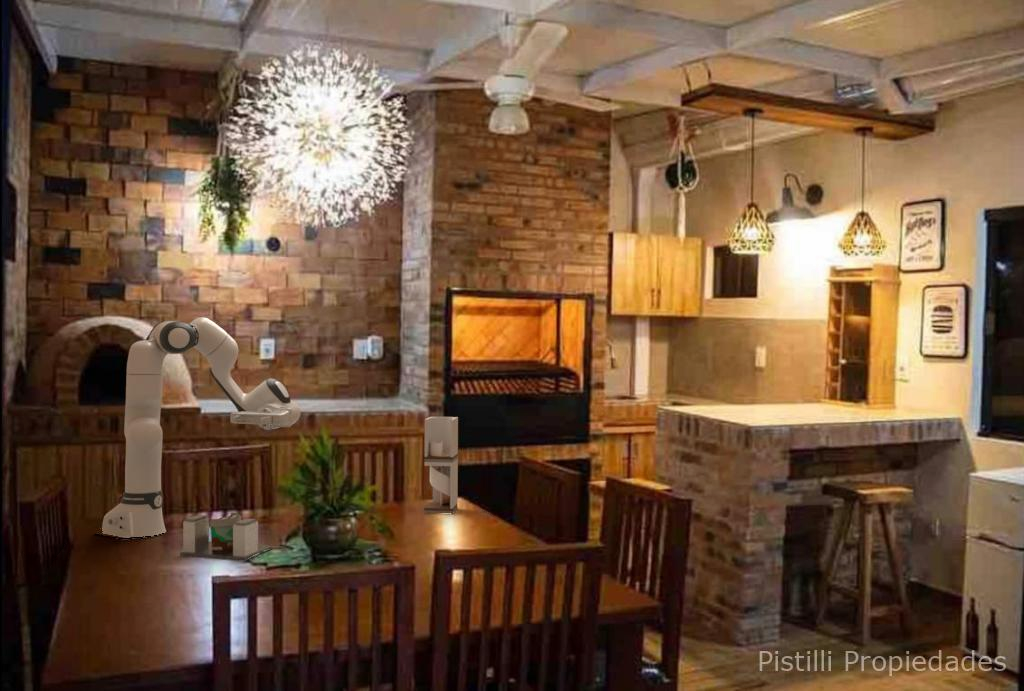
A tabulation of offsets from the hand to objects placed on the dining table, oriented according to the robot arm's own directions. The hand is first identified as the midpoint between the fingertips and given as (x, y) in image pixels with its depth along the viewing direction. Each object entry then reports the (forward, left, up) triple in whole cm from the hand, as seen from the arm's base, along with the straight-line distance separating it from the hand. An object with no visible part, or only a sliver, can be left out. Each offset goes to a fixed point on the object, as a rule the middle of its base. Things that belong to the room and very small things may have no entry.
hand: (247, 420), depth 303 cm
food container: (+10, -25, -37) cm, 45 cm away
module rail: (+9, -26, -38) cm, 46 cm away
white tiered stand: (+48, +56, -38) cm, 83 cm away
